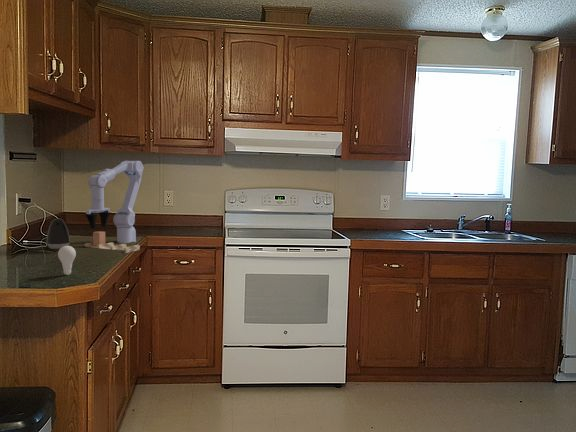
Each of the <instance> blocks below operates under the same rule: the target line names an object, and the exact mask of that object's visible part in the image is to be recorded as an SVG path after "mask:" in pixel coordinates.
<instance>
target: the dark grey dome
mask: <svg viewBox="0 0 576 432" xmlns="http://www.w3.org/2000/svg"><path fill="white" fill-rule="evenodd" d="M47 230H48V231H47V236H46V244H47V247H48V248H49V249H50V250H51V249H52V250H60V248H62V247H63V246H70V243H71V239H70V238H71V237H70V233H69V229H68V227H67V223H65V221H64V219H62V218H59V217H58V218H54V219H53V220H52V221H51V222H50V225H49V227H48V229H47Z"/></svg>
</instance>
